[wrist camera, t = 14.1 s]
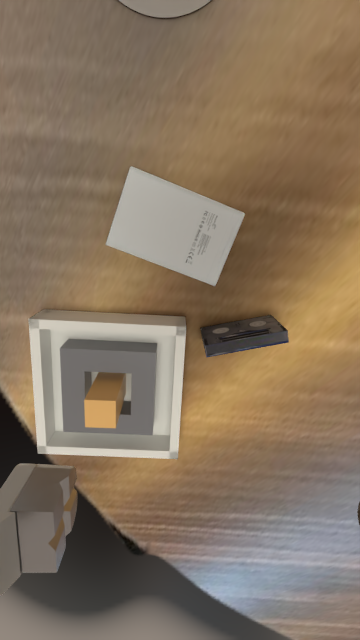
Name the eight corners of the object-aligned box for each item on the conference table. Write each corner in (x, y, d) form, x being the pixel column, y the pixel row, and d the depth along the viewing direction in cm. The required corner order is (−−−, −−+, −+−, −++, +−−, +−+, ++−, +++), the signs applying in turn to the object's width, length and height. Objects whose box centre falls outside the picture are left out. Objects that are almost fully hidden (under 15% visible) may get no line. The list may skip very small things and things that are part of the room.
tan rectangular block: (99, 369, 39) (84, 399, 32) (125, 370, 39) (115, 401, 32) (100, 392, 40) (85, 427, 33) (125, 393, 40) (115, 428, 33)
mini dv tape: (202, 339, 39) (207, 359, 33) (200, 327, 39) (204, 345, 33) (272, 326, 39) (289, 345, 33) (270, 314, 38) (287, 330, 33)
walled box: (43, 309, 38) (28, 319, 34) (185, 316, 38) (186, 326, 34) (50, 432, 42) (37, 453, 38) (177, 437, 43) (177, 458, 39)
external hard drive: (132, 167, 34) (242, 213, 36) (108, 244, 36) (213, 284, 38) (130, 165, 33) (246, 212, 34) (104, 245, 35) (215, 287, 36)
